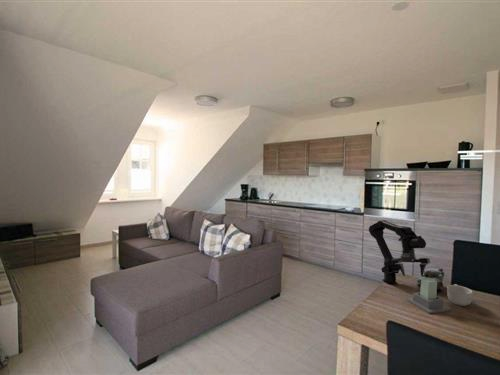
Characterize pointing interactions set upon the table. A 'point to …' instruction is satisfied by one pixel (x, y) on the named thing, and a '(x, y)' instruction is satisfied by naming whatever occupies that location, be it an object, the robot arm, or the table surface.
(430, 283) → the sage block
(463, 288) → the teacup
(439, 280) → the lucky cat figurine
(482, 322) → the table surface
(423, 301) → the grey square socket base
